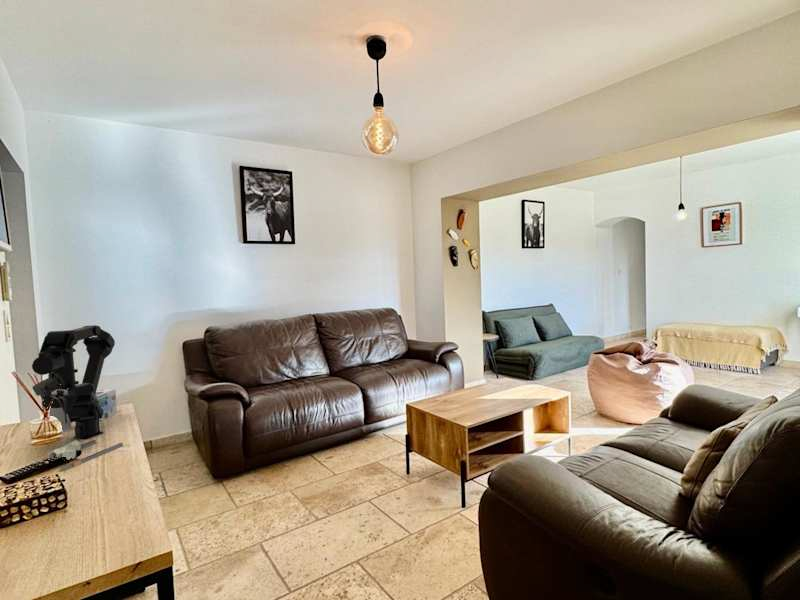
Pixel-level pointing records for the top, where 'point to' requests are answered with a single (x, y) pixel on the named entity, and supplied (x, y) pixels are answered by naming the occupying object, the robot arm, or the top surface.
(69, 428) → the glass holder
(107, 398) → the light bulb box
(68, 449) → the pipe fitting
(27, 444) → the top surface
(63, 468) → the grey metal bars
